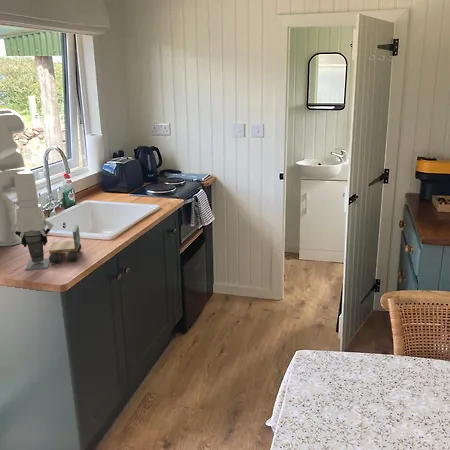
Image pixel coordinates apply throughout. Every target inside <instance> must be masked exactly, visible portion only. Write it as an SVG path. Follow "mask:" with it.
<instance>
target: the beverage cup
mask: <svg viewBox="0 0 450 450" xmlns="http://www.w3.org/2000/svg"><path fill="white" fill-rule="evenodd" d="M42 236H43V235H42V233H41V232H40V231H33V230H30V231H28V232H24V237H25V239H26V242H27V249H28V252H29V256H30V258H31V259H30V260H32V262H34V263H38V262H41V261H43V260H44V259H45V257H44V254H45V253H44V245H43V241H42Z"/></svg>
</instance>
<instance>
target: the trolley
mask: <svg viewBox="0 0 450 450" xmlns="http://www.w3.org/2000/svg"><path fill="white" fill-rule="evenodd" d="M72 237H73V240H66V241H54V242H52V244H51V246H50V248H49V251H48V252H49V257H48V258H49V261H50V263H51V264H52V265H53V264H54V265H57V264H59V263H60V262H61V259H62V258H61V255H60V254H66V260H67V261H68V262H70V263H75V262H77V261H78V258H79V254H78V253H79V252H80V251H81V249H82V243H81V234H80V229H79V225H78V224H76V225H74V228H73V231H72Z"/></svg>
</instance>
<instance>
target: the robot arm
mask: <svg viewBox="0 0 450 450" xmlns="http://www.w3.org/2000/svg"><path fill="white" fill-rule="evenodd" d="M24 131H25V122H24V119H23V118H22V115H20V114H19V113H18V112H16V111H15V110H13V109H10V108H2V109H1V108H0V247H11V246H15V245H19V244H21V245H23V248H27V247H28V245H27V242H26V239H25V237H24V232H28V231H30V230H33V231H40V232H41V233H42V235H43V236H42V241H43V247H44V246H47V243H49V242H48V236H47V235H48V234H49V232H51V230H52V228H53V227H54V224H53V223H51V222H50V221H48V220H47V219H46V218H45V217H46V216H45V213H44V211H43V207H42V205H41V204H40V202H39V197H38V190H37V186H36V185H37V184H36V179H35V174H34V173H33V171H32V170H31V169H30V168H28V167H26V166H25V161H24V160H25V159H24V157H23V154H22V152H21V151H20V150H19V149H18V144H17V142H16V139H15V136H14V134H15V135H18V134H21V133H23V132H24ZM10 195H16V200H14V201H13V200H12V199H11V198H10V197H8V196H10ZM16 206H17V207H16ZM46 227H47V228H46Z"/></svg>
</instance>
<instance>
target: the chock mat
mask: <svg viewBox="0 0 450 450" xmlns="http://www.w3.org/2000/svg"><path fill="white" fill-rule="evenodd" d="M50 263H51V262H50V261H49V257H44V260H43V261H41V262H38V263H34V262H32V259H29V262H28V263H27V265H26V266H25V268H24V271H35V270H44V269H45V270H46V269H48V268H49V266H50Z"/></svg>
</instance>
